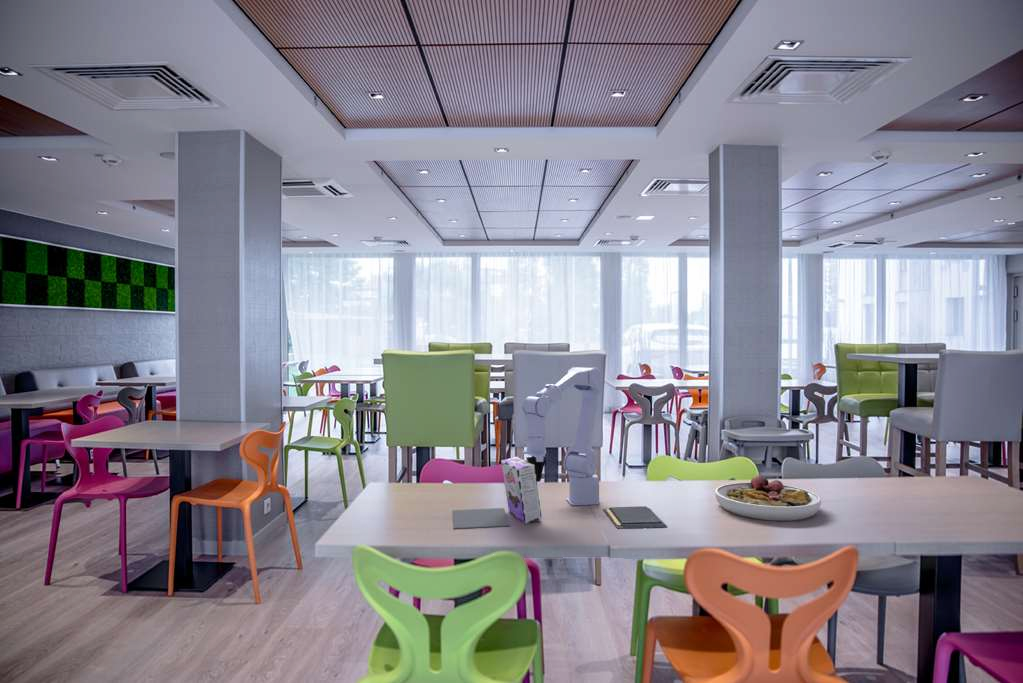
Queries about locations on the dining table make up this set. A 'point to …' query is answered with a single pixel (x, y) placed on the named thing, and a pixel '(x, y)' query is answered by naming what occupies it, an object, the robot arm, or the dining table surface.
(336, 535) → the dining table surface
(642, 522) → the wallet
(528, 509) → the candy box
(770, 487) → the bowl
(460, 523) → the mat
